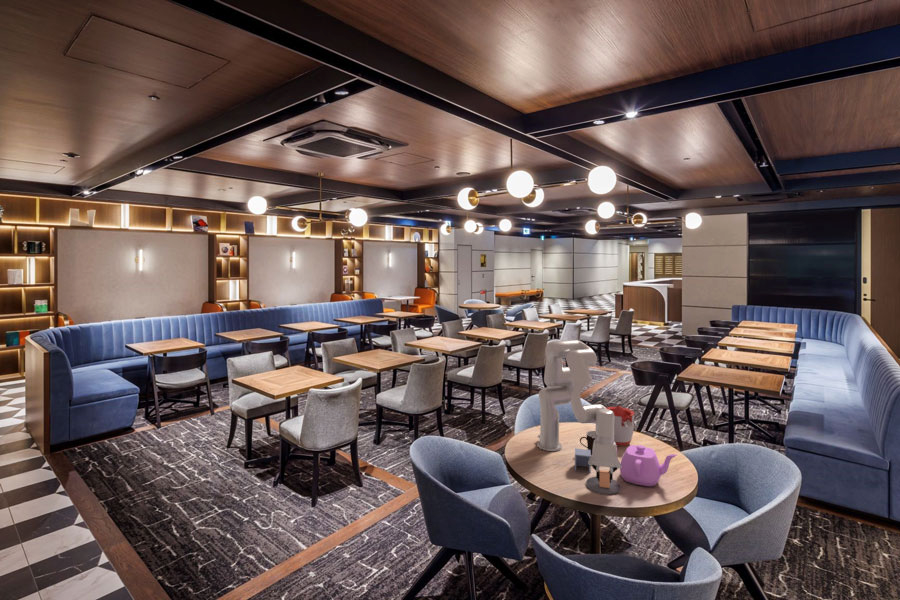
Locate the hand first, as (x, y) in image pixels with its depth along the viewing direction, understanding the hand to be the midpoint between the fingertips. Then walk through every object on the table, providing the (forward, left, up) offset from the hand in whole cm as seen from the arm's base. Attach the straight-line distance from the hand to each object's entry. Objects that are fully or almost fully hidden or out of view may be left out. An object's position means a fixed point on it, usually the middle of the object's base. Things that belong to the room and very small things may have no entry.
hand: (604, 480), depth 192 cm
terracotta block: (+1, -1, -2) cm, 2 cm away
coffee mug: (-30, +19, -3) cm, 36 cm away
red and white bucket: (-34, +41, -3) cm, 53 cm away
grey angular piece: (-18, +3, -3) cm, 18 cm away
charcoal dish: (-1, 0, -3) cm, 3 cm away
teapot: (+1, +20, -3) cm, 20 cm away
